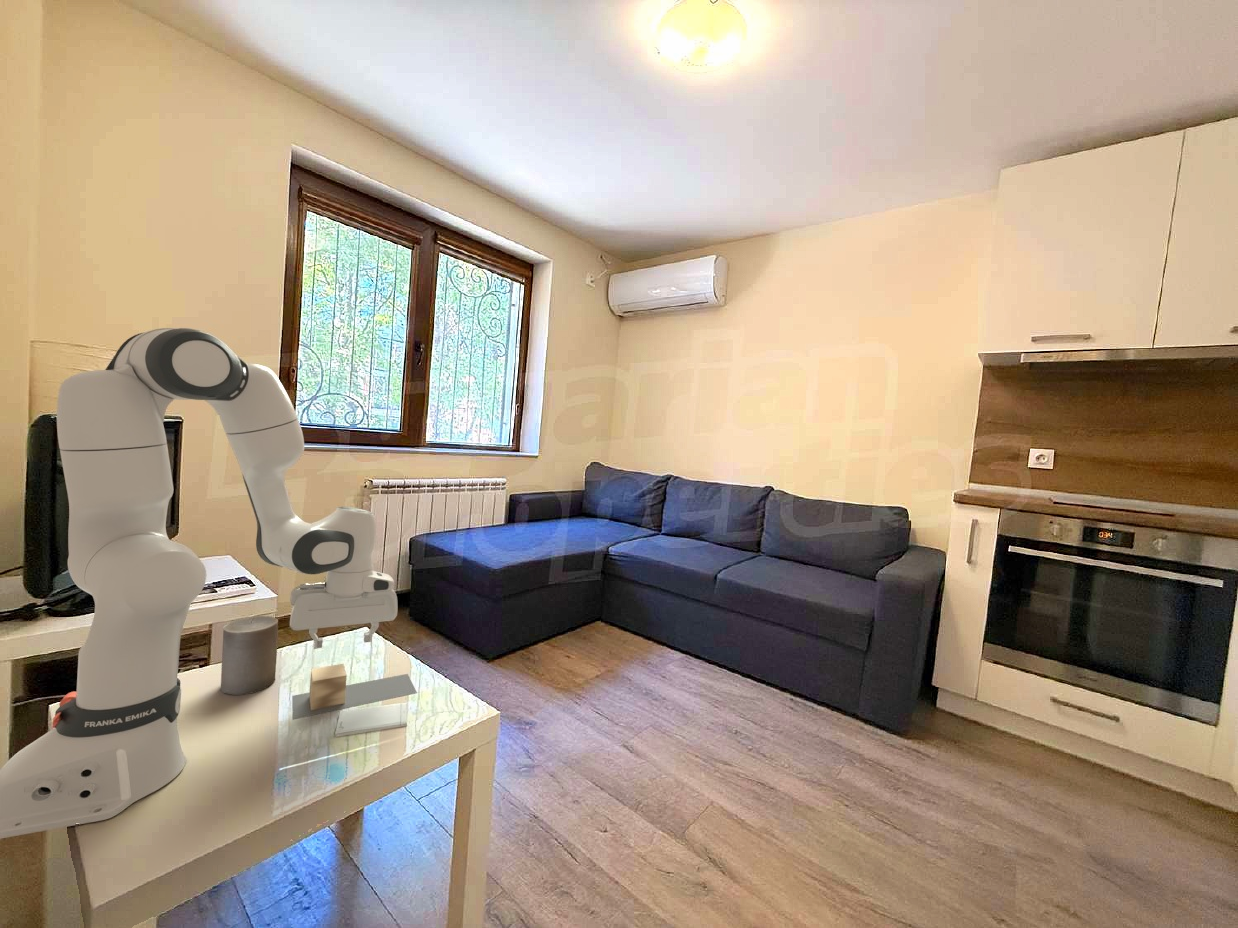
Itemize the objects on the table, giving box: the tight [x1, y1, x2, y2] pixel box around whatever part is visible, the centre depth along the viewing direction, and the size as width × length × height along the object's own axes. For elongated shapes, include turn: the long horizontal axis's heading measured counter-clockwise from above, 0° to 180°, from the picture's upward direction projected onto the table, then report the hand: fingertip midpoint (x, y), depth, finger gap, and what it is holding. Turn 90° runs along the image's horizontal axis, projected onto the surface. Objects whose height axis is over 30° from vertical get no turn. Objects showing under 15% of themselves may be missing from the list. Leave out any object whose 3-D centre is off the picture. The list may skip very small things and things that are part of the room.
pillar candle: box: [220, 615, 279, 696], centre depth 104 cm, size 10×10×15 cm
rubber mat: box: [292, 673, 418, 721], centre depth 104 cm, size 23×10×1 cm, turn 125°
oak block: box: [309, 663, 348, 710], centre depth 100 cm, size 6×6×6 cm
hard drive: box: [334, 702, 408, 737], centre depth 95 cm, size 2×8×12 cm
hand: (343, 644), depth 103 cm, fingers open, 8 cm apart
